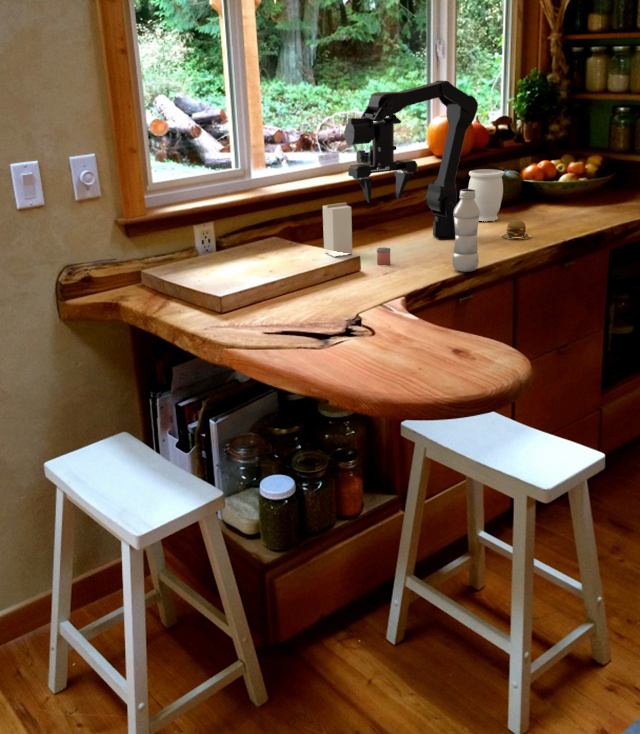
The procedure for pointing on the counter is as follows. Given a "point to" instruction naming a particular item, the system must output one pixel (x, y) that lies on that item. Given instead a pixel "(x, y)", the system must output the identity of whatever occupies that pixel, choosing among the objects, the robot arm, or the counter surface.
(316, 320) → the counter surface
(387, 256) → the tin
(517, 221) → the hamburger
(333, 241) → the tall white block
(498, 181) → the jar
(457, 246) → the plastic bottle
